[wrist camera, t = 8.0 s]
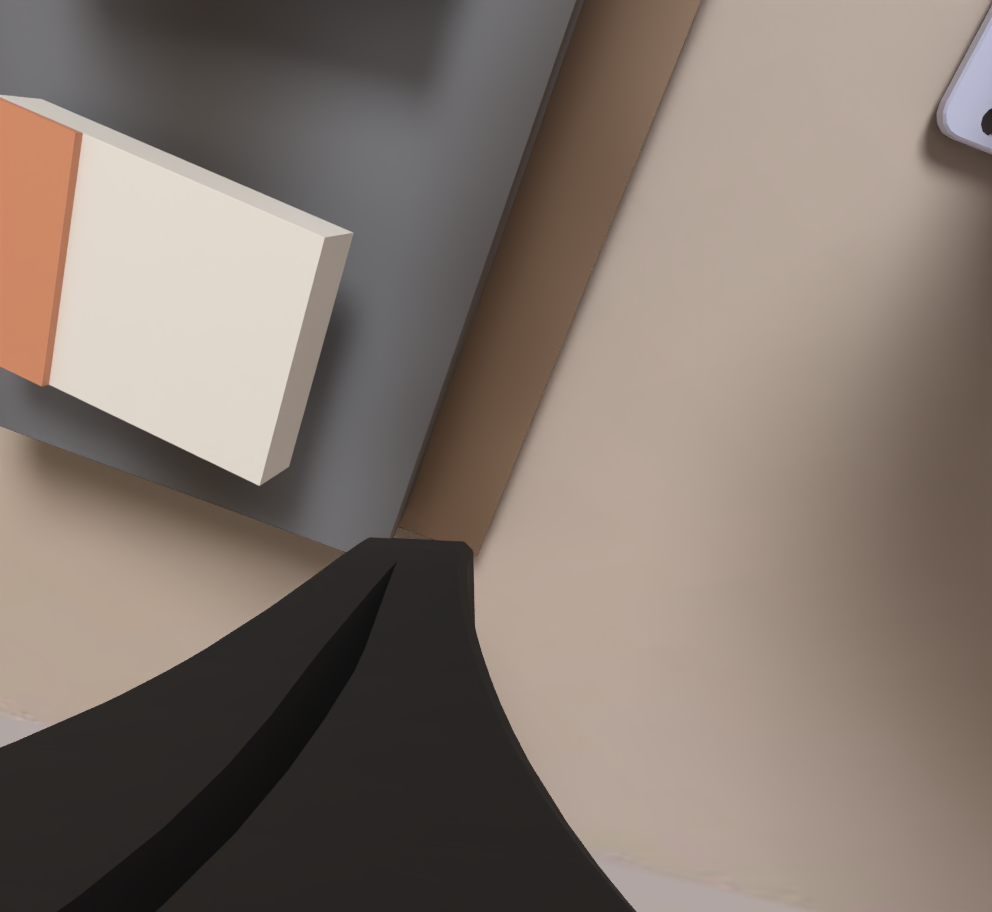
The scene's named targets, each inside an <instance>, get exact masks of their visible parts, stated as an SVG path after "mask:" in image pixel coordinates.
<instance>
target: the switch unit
mask: <svg viewBox="0 0 992 912" xmlns="http://www.w3.org/2000/svg"><path fill="white" fill-rule="evenodd" d="M700 2H701V0H0V95H7V96H17V97H27V98H37V99H43V100H45V101H48V102H50V103H52V104H55V105H57V106H59V107H62V108H64V109H66V110H69V111H71V112H73V113H76V114H78V115H80V116H83V117H85V118H87V119H90V120H92V121H94V122H97V123H99V124H101V125H104V126H106V127H108V128H111V129H113V130H115V131H118V132H120V133H122V134H125V135H127V136H129V137H132V138H134V139H136V140H139V141H141V142H143V143H146V144H148V145H150V146H153V147H155V148H157V149H160V150H162V151H164V152H167V153H169V154H171V155H174V156H176V157H178V158H181V159H183V160H185V161H188V162H190V163H192V164H195V165H197V166H199V167H202V168H204V169H206V170H209V171H211V172H213V173H216V174H218V175H220V176H223V177H225V178H227V179H229V180H232V181H234V182H236V183H239V184H241V185H243V186H246V187H248V188H250V189H253V190H255V191H257V192H260V193H262V194H264V195H267V196H269V197H271V198H274V199H276V200H278V201H281V202H283V203H285V204H288V205H290V206H292V207H295V208H297V209H299V210H302V211H304V212H306V213H309V214H311V215H313V216H316V217H318V218H320V219H323V220H325V221H327V222H330V223H332V224H334V225H337V226H339V227H341V228H344V229H346V230H348V231H351V232H353V233H354V234H353V237H352V241H351V244H350V248H349V252H348V255H347V259H346V262H345V266H344V270H343V273H342V277H341V281H340V284H339V288H338V291H337V295H336V299H335V302H334V306H333V309H332V313H331V317H330V320H329V324H328V328H327V331H326V335H325V338H324V342H323V346H322V349H321V353H320V357H319V360H318V364H317V367H316V371H315V375H314V378H313V382H312V385H311V389H310V393H309V396H308V400H307V404H306V407H305V411H304V414H303V418H302V422H301V425H300V429H299V432H298V436H297V440H296V443H295V447H294V451H293V454H292V458H291V461H290V465H289V467H288V468H286V469H285V470H283V471H282V472H280V473H279V474H277V475H276V476H274V477H272V478H271V479H269V480H268V481H266V482H265V483H263V484H262V485H260V486H259V485H257V484H255V483H252V482H250V481H248V480H246V479H244V478H242V477H240V476H238V475H236V474H234V473H232V472H230V471H228V470H225V469H223V468H221V467H219V466H217V465H215V464H213V463H211V462H209V461H207V460H205V459H203V458H201V457H198V456H196V455H194V454H192V453H190V452H188V451H186V450H184V449H182V448H180V447H178V446H176V445H174V444H171V443H169V442H167V441H165V440H163V439H161V438H159V437H157V436H155V435H153V434H151V433H149V432H147V431H144V430H142V429H140V428H138V427H136V426H134V425H132V424H130V423H128V422H126V421H124V420H122V419H120V418H117V417H115V416H113V415H111V414H109V413H107V412H105V411H103V410H101V409H99V408H97V407H95V406H93V405H90V404H88V403H86V402H84V401H82V400H80V399H78V398H76V397H74V396H72V395H70V394H68V393H66V392H63V391H61V390H59V389H57V388H55V387H53V386H51V385H46V386H40V385H37V384H35V383H33V382H31V381H29V380H27V379H25V378H23V377H21V376H19V375H17V374H15V373H13V372H11V371H8V370H6V369H4V368H2V367H0V426H1V427H4V428H7V429H9V430H12V431H15V432H18V433H20V434H23V435H26V436H29V437H31V438H34V439H37V440H39V441H42V442H45V443H48V444H50V445H53V446H56V447H59V448H61V449H64V450H67V451H70V452H72V453H75V454H78V455H81V456H83V457H86V458H89V459H92V460H94V461H97V462H100V463H103V464H105V465H108V466H111V467H114V468H116V469H119V470H122V471H124V472H127V473H130V474H133V475H135V476H138V477H141V478H144V479H146V480H149V481H152V482H155V483H157V484H160V485H163V486H166V487H168V488H171V489H174V490H177V491H179V492H182V493H185V494H188V495H190V496H193V497H196V498H199V499H201V500H204V501H207V502H209V503H212V504H215V505H218V506H220V507H223V508H226V509H229V510H231V511H234V512H237V513H240V514H242V515H245V516H248V517H251V518H253V519H256V520H259V521H262V522H264V523H267V524H270V525H273V526H275V527H278V528H281V529H284V530H286V531H289V532H292V533H294V534H297V535H300V536H303V537H305V538H308V539H311V540H314V541H316V542H319V543H322V544H325V545H327V546H330V547H333V548H336V549H338V550H341V551H344V552H348V551H349V550H350V549H352V548H353V547H355V546H356V545H358V544H359V543H360V542H362V541H364V540H365V539H367V538H369V537H374V538H393V536H394V534H395V532H396V530H397V528H398V527H401V528H404V529H406V530H409V531H412V532H414V533H417V534H420V535H423V536H425V537H428V538H431V539H434V540H443V541H464V542H465V543H466V544H467V545H468V546H469V547H470V548H471V549H472V550H473V554H474V555H478V553H479V550H480V548H481V545H482V543H483V540H484V538H485V536H486V533H487V531H488V528H489V526H490V523H491V521H492V518H493V516H494V513H495V511H496V508H497V506H498V503H499V501H500V498H501V496H502V493H503V491H504V488H505V486H506V483H507V481H508V478H509V476H510V473H511V471H512V468H513V466H514V464H515V461H516V459H517V456H518V454H519V451H520V449H521V446H522V444H523V441H524V439H525V436H526V434H527V431H528V429H529V426H530V424H531V421H532V419H533V416H534V414H535V411H536V409H537V406H538V404H539V401H540V399H541V396H542V394H543V392H544V389H545V387H546V384H547V382H548V379H549V377H550V374H551V372H552V369H553V367H554V364H555V362H556V359H557V357H558V354H559V352H560V349H561V347H562V344H563V342H564V339H565V337H566V334H567V332H568V329H569V327H570V324H571V322H572V320H573V317H574V315H575V312H576V310H577V307H578V305H579V302H580V300H581V297H582V295H583V292H584V290H585V287H586V285H587V282H588V280H589V277H590V275H591V272H592V270H593V267H594V265H595V262H596V260H597V257H598V255H599V252H600V250H601V248H602V245H603V243H604V240H605V238H606V235H607V233H608V230H609V228H610V225H611V223H612V220H613V218H614V215H615V213H616V210H617V208H618V205H619V203H620V200H621V198H622V195H623V193H624V190H625V188H626V185H627V183H628V180H629V178H630V175H631V173H632V171H633V168H634V166H635V163H636V161H637V158H638V156H639V153H640V151H641V148H642V146H643V143H644V141H645V138H646V136H647V133H648V131H649V128H650V126H651V123H652V121H653V118H654V116H655V113H656V111H657V108H658V106H659V103H660V101H661V99H662V96H663V94H664V91H665V89H666V86H667V84H668V81H669V79H670V76H671V74H672V71H673V69H674V66H675V64H676V61H677V59H678V56H679V54H680V51H681V49H682V46H683V44H684V41H685V39H686V36H687V34H688V31H689V29H690V27H691V24H692V22H693V19H694V17H695V14H696V12H697V9H698V7H699V4H700Z"/></svg>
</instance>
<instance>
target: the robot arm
mask: <svg viewBox="0 0 992 912" xmlns="http://www.w3.org/2000/svg"><path fill="white" fill-rule="evenodd" d="M991 108H992V6H991V8H990V10H989V11H988V13H987V15H986V17H985V19H984V21H983V23H982V25H981V26H980V28H979V30H978V32H977V34H976V36H975V38H974V40H973V41H972V43H971V45H970V47H969V49H968V51H967V53H966V55H965V56H964V58H963V60H962V62H961V64H960V66H959V68H958V70H957V71H956V73H955V75H954V77H953V79H952V81H951V83H950V85H949V86H948V88H947V90H946V92H945V94H944V96H943V98H942V99H941V101H940V104H939V107H938V110H937V113H936V114H937V125H938V126H939V128H940V130H941V132H942V133H943V134H945V135H946V136H947V137H949V138H951V139H953V140H956V141H958V142H961V143H963V144H966V145H969V146H971V147H974V148H976V149H979V150H981V151H984V152H986V153H989V154H991V155H992V134H990V135H986V134H985V133H984V132H983V131H982V127H981V122H982V118H983V116H984V115H985V113H986V112H987V111H988V110H989V109H991ZM0 912H636V911H635V910H634V908H633V907H632V906H631V905H630V904H629V903H628V901H627V900H626V899H625V898H624V897H623V895H622V894H621V893H620V892H619V891H618V889H617V888H616V887H615V886H614V884H613V883H612V882H611V881H610V879H609V878H608V877H607V876H606V874H605V873H604V872H603V871H602V869H601V868H600V867H599V866H598V864H597V863H596V862H595V860H594V859H593V858H592V856H591V855H590V853H589V852H588V851H587V849H586V848H585V847H584V845H583V844H582V842H581V841H580V840H579V838H578V837H577V836H576V834H575V833H574V831H573V830H572V829H571V827H570V826H569V825H568V823H567V822H566V820H565V819H564V817H563V815H562V814H561V812H560V811H559V809H558V807H557V806H556V804H555V803H554V801H553V799H552V798H551V796H550V795H549V793H548V791H547V790H546V788H545V787H544V785H543V783H542V782H541V780H540V779H539V777H538V775H537V774H536V772H535V771H534V769H533V767H532V766H531V764H530V762H529V760H528V759H527V757H526V755H525V753H524V751H523V749H522V747H521V745H520V743H519V741H518V739H517V737H516V735H515V734H514V732H513V730H512V727H511V725H510V723H509V721H508V719H507V717H506V714H505V712H504V710H503V708H502V706H501V703H500V701H499V699H498V696H497V694H496V691H495V689H494V686H493V683H492V681H491V678H490V675H489V672H488V669H487V667H486V664H485V661H484V658H483V655H482V652H481V648H480V645H479V641H478V638H477V634H476V629H475V613H474V568H473V550H472V549H471V548H470V547H469V546H468V545H467V544H466V543H465V542H464V541H443V540H420V539H397V538H374V537H369V538H367V539H365V540H364V541H362V542H360V543H359V544H358V545H356V546H355V547H353V548H352V549H350V550H349V551H348V552H346V553H345V554H343V555H342V556H341V557H339V558H338V559H337V560H335V561H334V562H332V563H331V564H330V565H328V566H327V567H326V568H324V569H323V570H322V571H320V572H319V573H318V574H316V575H315V576H313V577H312V578H311V579H309V580H308V581H306V582H305V583H304V584H302V585H301V586H299V587H298V588H297V589H295V590H294V591H292V592H291V593H290V594H288V595H287V596H285V597H284V598H283V599H281V600H280V601H278V602H277V603H276V604H274V605H273V606H271V607H270V608H268V609H267V610H265V611H264V612H262V613H261V614H259V615H258V616H256V617H255V618H253V619H251V620H250V621H248V622H247V623H245V624H244V625H242V626H240V627H239V628H237V629H236V630H234V631H233V632H231V633H230V634H228V635H226V636H225V637H223V638H222V639H220V640H219V641H217V642H216V643H214V644H212V645H211V646H209V647H208V648H206V649H205V650H203V651H201V652H199V653H198V654H196V655H194V656H193V657H191V658H189V659H188V660H186V661H184V662H182V663H180V664H179V665H177V666H175V667H173V668H171V669H170V670H168V671H166V672H164V673H162V674H160V675H158V676H156V677H155V678H153V679H151V680H149V681H147V682H145V683H143V684H141V685H139V686H137V687H135V688H133V689H131V690H129V691H127V692H126V693H124V694H122V695H120V696H117V697H115V698H113V699H111V700H109V701H107V702H105V703H103V704H101V705H98V706H96V707H94V708H91V709H89V710H87V711H85V712H82V713H80V714H78V715H75V716H73V717H71V718H68V719H66V720H64V721H62V722H59V723H57V724H55V725H52V726H50V727H48V728H46V729H43V730H41V731H39V732H36V733H34V734H32V735H30V736H27V737H25V738H23V739H20V740H19V741H16V742H13V743H11V744H8V745H6V746H3V747H1V748H0Z"/></svg>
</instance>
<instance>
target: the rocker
mask: <svg viewBox="0 0 992 912" xmlns="http://www.w3.org/2000/svg"><path fill="white" fill-rule="evenodd" d="M353 234H354V233H353V232H351V231H348V230H346V229H344V228H341V227H339V226H337V225H334V224H332V223H330V222H327V221H325V220H323V219H320V218H318V217H316V216H313V215H311V214H309V213H306V212H304V211H302V210H299V209H297V208H295V207H292V206H290V205H288V204H285V203H283V202H281V201H278V200H276V199H274V198H271V197H269V196H267V195H264V194H262V193H260V192H257V191H255V190H253V189H250V188H248V187H246V186H243V185H241V184H239V183H236V182H234V181H232V180H229V179H227V178H225V177H223V176H220V175H218V174H216V173H213V172H211V171H209V170H206V169H204V168H202V167H199V166H197V165H195V164H192V163H190V162H188V161H185V160H183V159H181V158H178V157H176V156H174V155H171V154H169V153H167V152H164V151H162V150H160V149H157V148H155V147H153V146H150V145H148V144H146V143H143V142H141V141H139V140H136V139H134V138H132V137H129V136H127V135H125V134H122V133H120V132H118V131H115V130H113V129H111V128H108V127H106V126H104V125H101V124H99V123H97V122H94V121H92V120H90V119H87V118H85V117H83V116H80V115H78V114H76V113H73V112H71V111H69V110H66V109H64V108H62V107H59V106H57V105H55V104H52V103H50V102H48V101H45V100H43V99H37V98H27V97H17V96H7V95H0V367H2V368H4V369H6V370H8V371H11V372H13V373H15V374H17V375H19V376H21V377H23V378H25V379H27V380H29V381H31V382H33V383H35V384H37V385H40V386H46V385H51V386H53V387H55V388H57V389H59V390H61V391H63V392H66V393H68V394H70V395H72V396H74V397H76V398H78V399H80V400H82V401H84V402H86V403H88V404H90V405H93V406H95V407H97V408H99V409H101V410H103V411H105V412H107V413H109V414H111V415H113V416H115V417H117V418H120V419H122V420H124V421H126V422H128V423H130V424H132V425H134V426H136V427H138V428H140V429H142V430H144V431H147V432H149V433H151V434H153V435H155V436H157V437H159V438H161V439H163V440H165V441H167V442H169V443H171V444H174V445H176V446H178V447H180V448H182V449H184V450H186V451H188V452H190V453H192V454H194V455H196V456H198V457H201V458H203V459H205V460H207V461H209V462H211V463H213V464H215V465H217V466H219V467H221V468H223V469H225V470H228V471H230V472H232V473H234V474H236V475H238V476H240V477H242V478H244V479H246V480H248V481H250V482H252V483H255V484H257V485H259V486H260V485H262V484H263V483H265V482H266V481H268V480H269V479H271V478H272V477H274V476H276V475H277V474H279V473H280V472H282V471H283V470H285V469H286V468H288V467H289V465H290V461H291V458H292V454H293V451H294V447H295V443H296V440H297V436H298V432H299V429H300V425H301V422H302V418H303V414H304V411H305V407H306V404H307V400H308V396H309V393H310V389H311V385H312V382H313V378H314V375H315V371H316V367H317V364H318V360H319V357H320V353H321V349H322V346H323V342H324V338H325V335H326V331H327V328H328V324H329V320H330V317H331V313H332V309H333V306H334V302H335V299H336V295H337V291H338V288H339V284H340V281H341V277H342V273H343V270H344V266H345V262H346V259H347V255H348V252H349V248H350V244H351V241H352V237H353Z"/></svg>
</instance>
